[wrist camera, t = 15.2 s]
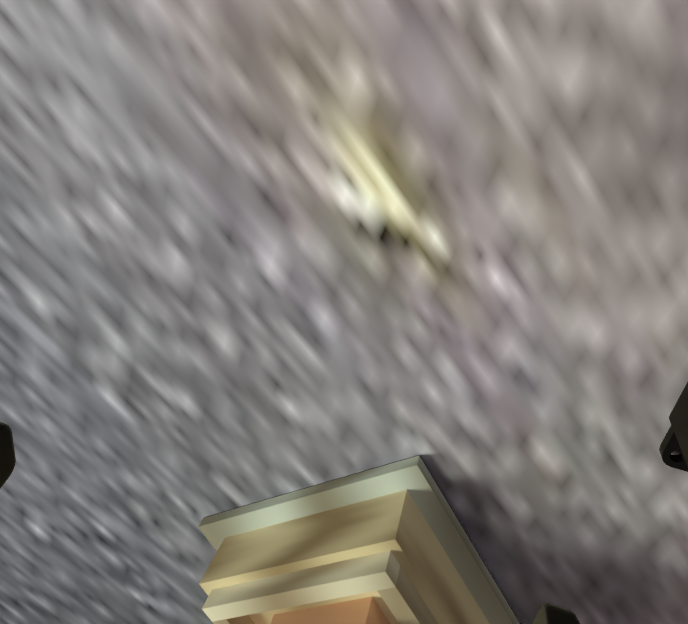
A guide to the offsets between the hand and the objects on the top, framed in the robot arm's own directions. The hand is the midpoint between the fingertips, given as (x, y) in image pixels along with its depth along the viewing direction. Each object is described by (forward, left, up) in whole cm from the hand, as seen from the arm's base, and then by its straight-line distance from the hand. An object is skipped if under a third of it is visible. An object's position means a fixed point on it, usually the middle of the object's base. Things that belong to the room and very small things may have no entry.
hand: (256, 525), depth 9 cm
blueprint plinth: (-2, +17, -13) cm, 21 cm away
